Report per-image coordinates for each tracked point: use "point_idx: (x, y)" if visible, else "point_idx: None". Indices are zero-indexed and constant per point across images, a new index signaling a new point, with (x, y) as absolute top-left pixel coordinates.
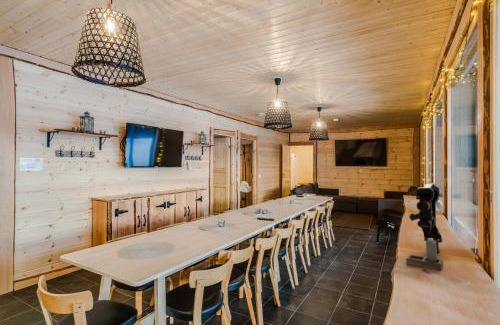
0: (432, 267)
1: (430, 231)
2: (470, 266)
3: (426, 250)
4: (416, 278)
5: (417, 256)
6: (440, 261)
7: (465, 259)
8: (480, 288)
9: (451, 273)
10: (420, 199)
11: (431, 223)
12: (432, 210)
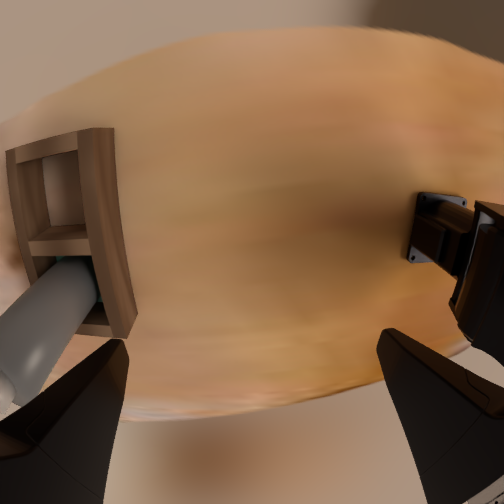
0: None
1: (392, 392)
2: (230, 392)
3: (16, 300)
4: None
5: (81, 193)
6: (81, 329)
7: (336, 368)
8: None
9: (75, 340)
10: None
11: (449, 498)
12: None
